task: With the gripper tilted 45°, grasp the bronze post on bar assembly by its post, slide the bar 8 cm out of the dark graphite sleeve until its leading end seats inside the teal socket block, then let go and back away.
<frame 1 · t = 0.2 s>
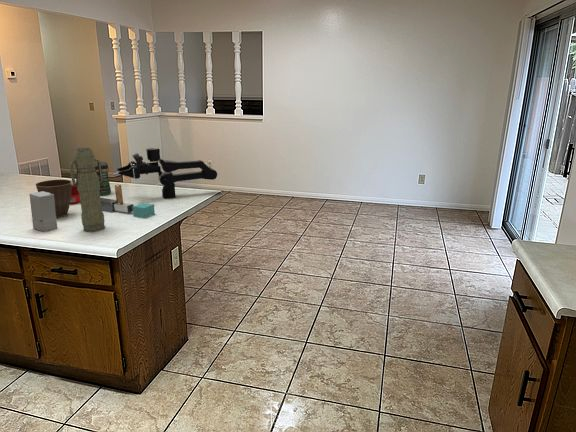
hand: (118, 171, 222), 17 cm above the worktop, tool horizontal, fingers open, 9 cm apart
socket: (143, 210, 203), on the worktop
plant pot: (59, 215, 203), on the worktop
canned food: (73, 203, 224), on the worktop
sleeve: (116, 211, 210), on the worktop
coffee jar: (102, 194, 242), on the worktop
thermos: (94, 228, 185), on the worktop
bronze post on bar: (113, 197, 208), point 7 cm above the worktop, slide at 0.0 cm
skincare box: (46, 228, 185), on the worktop
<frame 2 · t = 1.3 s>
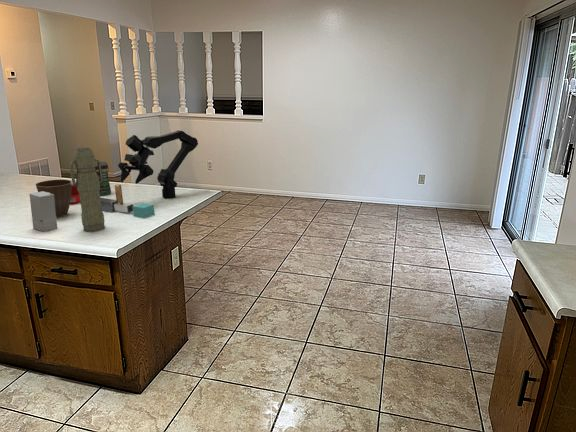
hand: (128, 182, 212), 13 cm above the worktop, tool tilted 45°, fingers open, 9 cm apart
nothing on the worktop moved.
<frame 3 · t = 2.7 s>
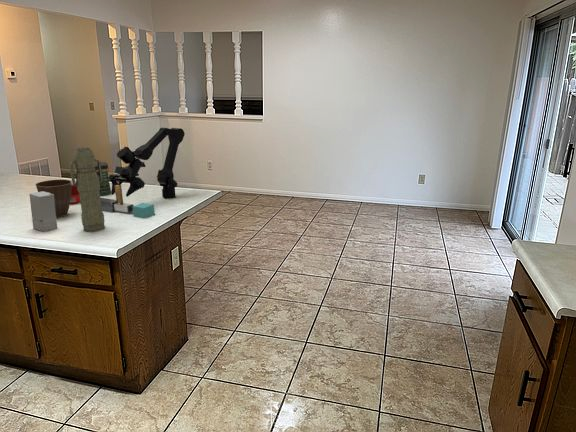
hand: (119, 195, 207), 8 cm above the worktop, tool tilted 45°, fingers open, 9 cm apart
nothing on the worktop moved.
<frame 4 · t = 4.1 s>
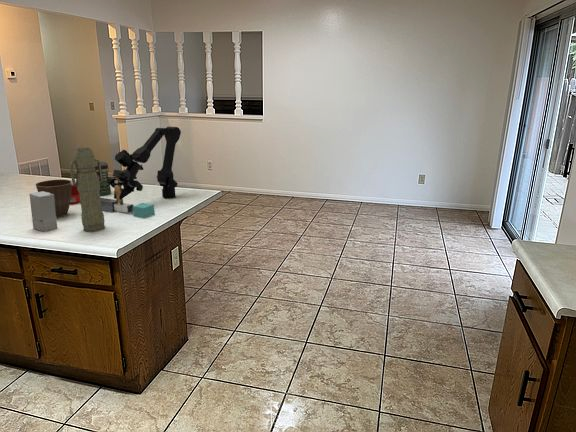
hand: (117, 198, 206), 7 cm above the worktop, tool tilted 45°, fingers closed on bronze post on bar, 3 cm apart
bronze post on bar: (113, 197, 208), point 7 cm above the worktop, slide at 0.0 cm, touching gripper
everything else where it was.
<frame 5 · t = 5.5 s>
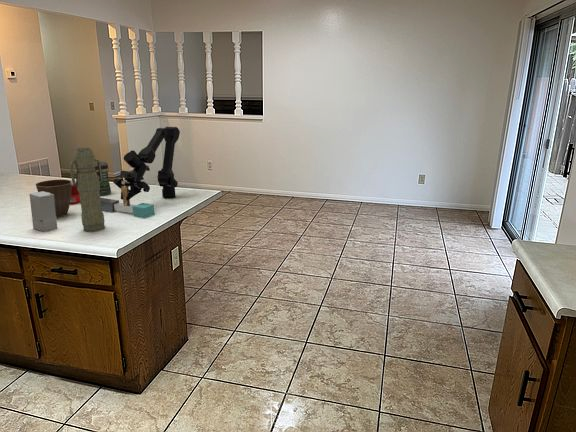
hand: (124, 199, 204), 7 cm above the worktop, tool tilted 45°, fingers closed on bronze post on bar, 3 cm apart
bronze post on bar: (119, 197, 207), point 7 cm above the worktop, slide at 4.3 cm, touching gripper
everything else where it was.
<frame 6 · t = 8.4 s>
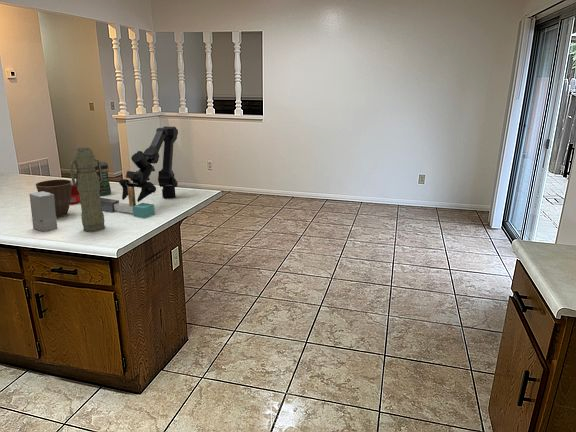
hand: (130, 200, 203), 7 cm above the worktop, tool tilted 45°, fingers open, 9 cm apart
bronze post on bar: (125, 198, 206), point 7 cm above the worktop, slide at 8.0 cm
everything else where it was.
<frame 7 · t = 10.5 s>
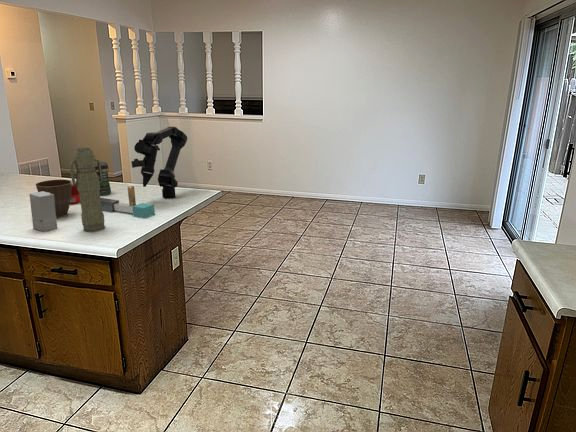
hand: (144, 186, 217), 10 cm above the worktop, tool tilted 20°, fingers open, 9 cm apart
nothing on the worktop moved.
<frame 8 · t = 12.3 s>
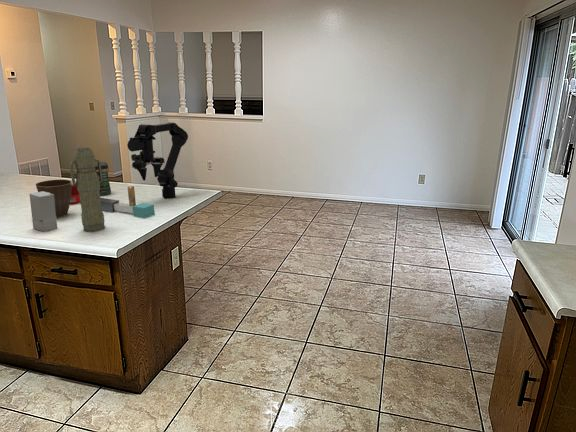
hand: (150, 178, 222), 13 cm above the worktop, tool pointing down, fingers open, 9 cm apart
nothing on the worktop moved.
at the end: bronze post on bar slide at 8.0 cm; the gripper is holding nothing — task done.
